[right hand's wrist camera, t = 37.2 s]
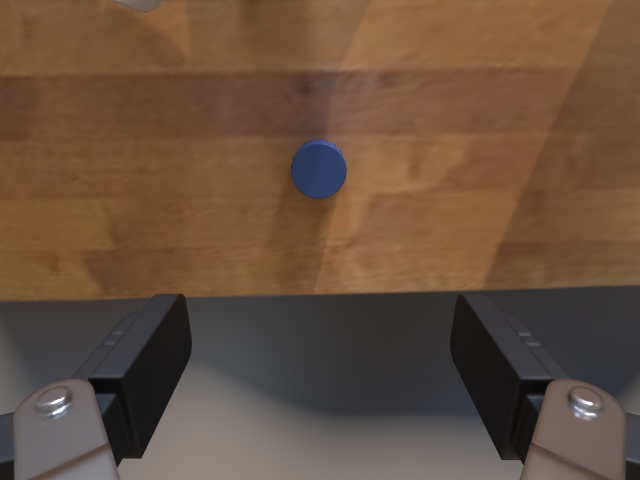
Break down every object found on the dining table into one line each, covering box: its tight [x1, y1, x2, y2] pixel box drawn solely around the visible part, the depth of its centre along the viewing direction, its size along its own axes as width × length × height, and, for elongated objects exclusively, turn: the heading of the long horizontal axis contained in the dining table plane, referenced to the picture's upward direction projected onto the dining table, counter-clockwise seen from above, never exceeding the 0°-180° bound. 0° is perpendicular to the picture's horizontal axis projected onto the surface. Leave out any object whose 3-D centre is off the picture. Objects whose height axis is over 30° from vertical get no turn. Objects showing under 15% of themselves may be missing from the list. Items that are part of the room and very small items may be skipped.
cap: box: [291, 139, 347, 198], centre depth 32 cm, size 5×5×3 cm
